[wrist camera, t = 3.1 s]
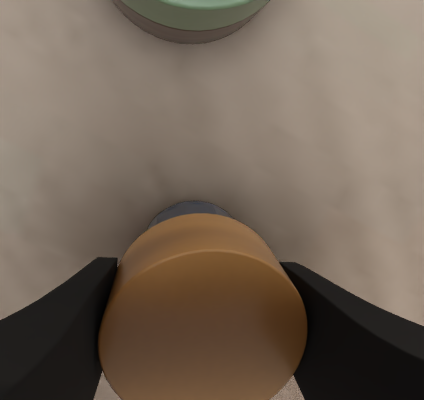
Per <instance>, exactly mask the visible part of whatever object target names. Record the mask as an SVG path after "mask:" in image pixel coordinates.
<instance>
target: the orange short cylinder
mask: <svg viewBox="0 0 424 400" xmlns="http://www.w3.org/2000/svg"><path fill="white" fill-rule="evenodd" d="M307 334H308V327H307V316H306V310H305V307H304V304H303V301H302V298H301V297H300V295H299V293H298V291H297V289H296V288H295V286H294V285H293V283H292V282H291V280H290V279H289V277H288V275H287V274H286V272H285V271H284V269H283V268H282V266H281V265H280V263H279V262H278V260H277V259H276V257H275V256H274V254H273V253H272V251H271V250H270V248H269V247H268V246H267V244H266V243H265V242H264V240H263V239H262V238H261V237H260V236H259V235H258V234H257V233H256V232H255V231H253V230H252V229H251V228H249V227H248V226H246V225H244V224H243V223H241V222H239V221H237V220H234V219H231V218H229V217H225V216H221V215H217V214H208V213H194V214H187V215H181V216H177V217H174V218H170V219H168V220H165V221H163V222H160V223H159V224H157V225H155V226H153V227H151V228H150V229H148V230H147V231H146V232H144V233H143V234H142V235H140V236H139V237H138V238H137V239H136V240H135V241H134V242H133V243H132V245H131V246H130V247H129V248H128V250H127V251H126V252H125V254H124V256H123V258H122V259H121V261H120V264H119V266H118V269H117V271H116V275H115V278H114V281H113V284H112V288H111V291H110V294H109V298H108V301H107V304H106V307H105V311H104V314H103V317H102V321H101V325H100V329H99V333H98V355H99V360H100V364H101V368H102V370H103V373H104V375H105V377H106V380H107V381H108V383H109V384H110V386H111V387H112V389H113V390H114V391H115V393H116V394H117V395H118V396H119V397H120V398H121V399H122V400H270V399H271V398H272V397H273V396H274V395H276V394H277V393H278V392H279V391H280V390H281V389H282V388H283V387H284V386H285V385H286V383H287V382H288V381H289V379H290V378H291V377H292V376H293V374H294V372H295V371H296V369H297V367H298V366H299V363H300V361H301V359H302V356H303V354H304V350H305V347H306V342H307Z"/></svg>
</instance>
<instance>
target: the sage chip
mask: <svg viewBox="0 0 424 400" xmlns="http://www.w3.org/2000/svg"><path fill="white" fill-rule="evenodd" d="M121 1H122V2H123V3H124V4H125V5H127V6H128V7H130V8H131V9H132V10H134V11H135V12H137V13H138V14H140V15H142V16H144V17H146V18H148V19H150V20H152V21H154V22H156V23H159V24H162V25H165V26H168V27H172V28H177V29H182V30H194V31H202V30H213V29H218V28H222V27H226V26H229V25H232V24H234V23H237V22H239V21H242V20H243V19H245V18H247V17H249V16H250V15H252V14H254V13H255V12H257V11H258V10H259V9H260V8H262V7H263V6H264V5H266V4H267V3H268V2H269V1H270V0H121Z"/></svg>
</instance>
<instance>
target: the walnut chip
mask: <svg viewBox="0 0 424 400" xmlns="http://www.w3.org/2000/svg"><path fill="white" fill-rule="evenodd" d="M112 1H113V3H114V4H115V5H116V6H117V8H118V9H119V10H120V11H121V12H122V13H123V14H124V15H125V16H126V17H127V18H128V19H129V20H131V21H132V22H133V23H134V24H135V25H137V26H138V27H140V28H141V29H143V30H144V31H146V32H148V33H150V34H152V35H154V36H156V37H158V38H161V39H164V40H167V41H171V42H176V43H181V44H199V43H207V42H211V41H215V40H218V39H221V38H223V37H226V36H228V35H230V34H231V33H233V32H235V31H237V30H238V29H240V28H241V27H242V26H243V25H245V24H246V23H247V22H248V21H249V20H250V19H251V18H252V17H254V16H255V15H256V14H257V13H258V12H259V11H260V10H261V9H262V8H263V7H264V6H265V5H264V6H263V7H262V8H260V9H259V10H258V11H257V12H255V13H254V14H252V15H250V16H249V17H247V18H245V19H243V20H242V21H239V22H237V23H234V24H232V25H229V26H226V27H222V28H218V29H213V30H202V31H194V30H182V29H177V28H172V27H168V26H165V25H162V24H159V23H156V22H154V21H152V20H150V19H148V18H146V17H144V16H142V15H140V14H138V13H137V12H135V11H134V10H132V9H131V8H130V7H128V6H127V5H125V4H124V3H123V2H122V1H121V0H112Z"/></svg>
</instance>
